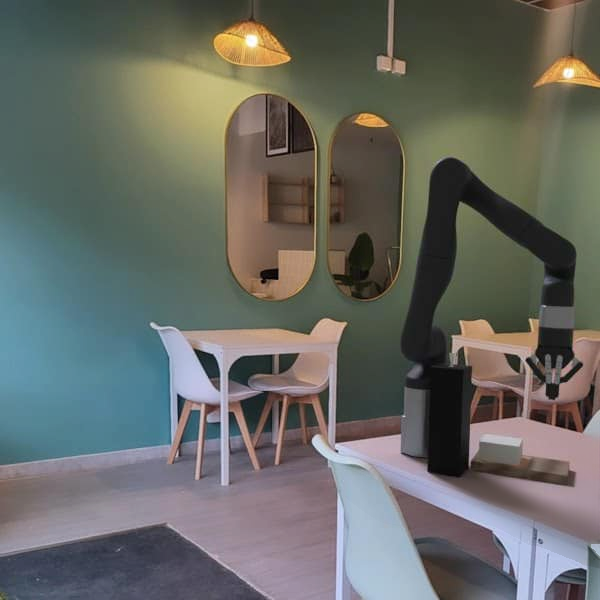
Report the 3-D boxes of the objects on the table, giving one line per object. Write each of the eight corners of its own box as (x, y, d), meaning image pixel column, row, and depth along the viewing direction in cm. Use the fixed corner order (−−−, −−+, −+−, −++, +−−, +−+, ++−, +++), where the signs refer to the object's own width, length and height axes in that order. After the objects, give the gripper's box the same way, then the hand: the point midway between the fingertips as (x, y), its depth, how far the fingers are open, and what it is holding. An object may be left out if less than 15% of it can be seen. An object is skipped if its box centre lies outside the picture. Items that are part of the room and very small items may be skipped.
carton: (478, 459, 142) (479, 441, 142) (484, 451, 150) (484, 434, 149) (518, 465, 138) (519, 446, 138) (522, 457, 146) (522, 438, 145)
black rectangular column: (469, 469, 142) (472, 352, 141) (460, 478, 135) (463, 355, 134) (437, 463, 146) (440, 349, 145) (426, 471, 139) (430, 352, 138)
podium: (470, 469, 141) (470, 461, 141) (479, 456, 152) (479, 448, 152) (567, 484, 132) (567, 475, 132) (569, 469, 143) (569, 461, 143)
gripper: (524, 324, 138) (520, 398, 138) (587, 328, 132) (583, 405, 133) (527, 322, 144) (523, 393, 145) (587, 326, 139) (583, 400, 139)
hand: (552, 399), depth 139 cm, fingers closed
